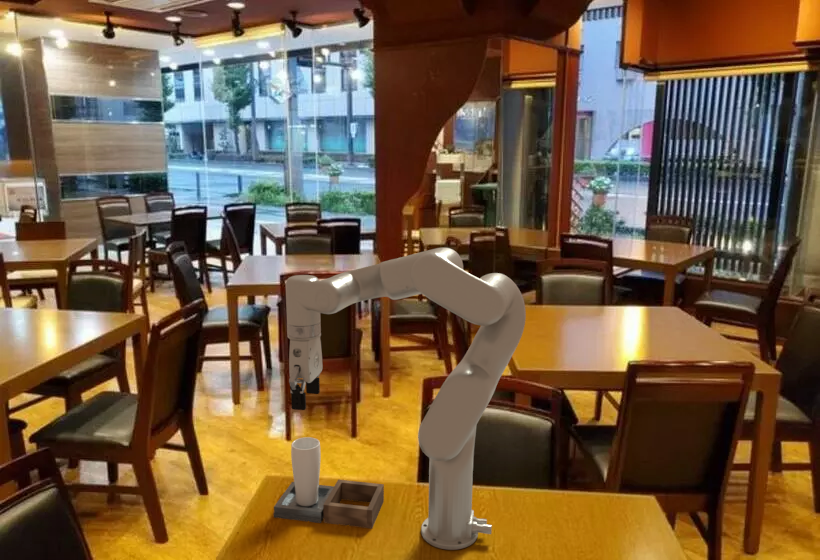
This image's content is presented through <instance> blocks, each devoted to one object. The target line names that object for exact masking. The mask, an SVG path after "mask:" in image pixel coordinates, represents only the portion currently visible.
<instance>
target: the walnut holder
mask: <svg viewBox="0 0 820 560" xmlns="http://www.w3.org/2000/svg"><path fill="white" fill-rule="evenodd" d="M384 490H385V486H384V484H382V483H376V482H375V483H373V482H365V481H355V480H348V479H347V480H345V479H338V480H337V481H336V482H335V484H334V488H333V489H332V491H331V493H330V494H329V496H328V498H327V499H326V501H325V503H324V505H323V511H324V518H323V524H332V525H339V524H340V525H341V526H347V525H349V526H350V527H355V528H356V527H358V528H366V529H373V528H374V525H375V523H376V520H377V518H378V516H379V513H380V511H381V509H382V507H383V505H384V502H385V501H384V500H385V497H384V495H385V494H384V493H385V491H384ZM342 499H343V500H345V501H351V502H352V500H353V502H362V503H369V505H368V506H364V505H356V504H355V505H353V504H349V503H348V504H345V503H341V502H342ZM349 526H348V527H349Z"/></svg>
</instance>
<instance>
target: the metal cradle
mask: <svg viewBox="0 0 820 560" xmlns="http://www.w3.org/2000/svg"><path fill="white" fill-rule="evenodd" d="M334 486H335V485H334ZM334 486H333V485H332V486H331V485H324V484H323V485H322V484H319V489H318V501H317V502H316V503H315V504H314V505H312V506H300V505H298V504H297V502H296V493H295V484H294V481H292V482H291V483H290V484H289V486H288V487H287V488H286V490H285V491H284V493H283V494H282V495H281V496H280V498H279V499H278V500H277V502H276V503H275V505H274V506H273V518H277V519H283V520H284V519H286V520H291V521H292V520H293V521H300V522H301V521H302V522H308V521H309V522H311V523H318V524H322V522H323V521H324V511H323V505H324V503H325V501H326V499H327V498H328V496H329V494H330V493H331V491H332V489H333V488H334Z"/></svg>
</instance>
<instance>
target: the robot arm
mask: <svg viewBox="0 0 820 560" xmlns="http://www.w3.org/2000/svg"><path fill="white" fill-rule="evenodd" d="M417 295H423V296H424V297H426V298H427V299H429V300H430V301H432V302H433V303H436V304H437V305H438V306H441V307H442V308H444V309H446V311H447V310H448V311H449V312H451V313H453V314H454V315H456V316H458V317H459V318H461V319H463V320H465V321H467V322H469V323H471V324H473V325H475V326H476V325H477V326H480V327H479V328H478V330H477V332H476V334H475V336H474V337H473V339H472V342H471V344H470V346H469V348H468V350H466V353H465V354H464V356H463V357H462V358H461V360H460V362H459V363H458V364H457V365H456V366H455V367H454V369H453V370H452V371H451V372H450V373H449V375H447V377H446V378H445V381H444V382H443V383H442V385H441V386H440V388H439V391H438V393H437V394H436V396H435V398H434V400H433V401H432V402H431V405H430V407H429V408H428V411H427V412H426V414H425V416H424V418H423V420H422V421H421V424H420V425H419V428H418V433H417V439H418V444H419V447H420V449H421V451H422V453H424V455H425V456H427V458H428V459H429V465H428V466H429V467H428V475H429V476H428V517H427V518H426V519H424V521H423V522H422V524H421V526H420V528H421V529H420V533H421V536H422V538H423V540H424V541H425V542H426V543H428V544H429V545H431V546H433V547H435V548H438V549H443V550H448V551H455V550H461V549H464V548H467V547H470V546H471V545H473V544H474V543H475V542H476V541H477V538H478V536H479V533H481V534H486V535H492V527H493V525H492V524H487V523H488V520H487V518H477V516H475V514H474V513H475V511H474V509H472V507H473V503H472V502H473V482H474V481H473V477H474V476H473V474H474V472H473V471H474V456H475V445H476V444H475V443H476V435H477V434H476V433H477V424H478V423H479V421H480V419H481V417H482V416H483V414H484V412H485V411H486V408H487V407H488V405H489V403H490V401H491V399H492V397H493V395H494V394H495V392H496V388H497V385H498V383H499V381H500V379H501V377H502V375H503V374H504V371H505V370H506V368H507V366H508V364H509V363H510V361H511V359H512V357H513V355H514V353H515V351H516V349H517V347H518V345H519V343H520V341H521V338H522V337H523V333H524V329H525V324H526V319H527V318H526V315H527V313H526V304H525V300H524V297H523V294H522V291H520V288H519V286H517V284H516V283H515V282H514V281H513V280H512V279H511V278H510V277H508V276H507V275H505V274H504V273H500V272H499V273H498V272H492V273H486V274H485V275H482V276H481V277H480V278H479V277H477V276H475V275H473V274H471V273H469V272H468V271H466V270H464V263H463V260H462V258H461V256H460V254H459V253H458V252H457V251H455V250H454V249H453V248H450V247H437V248H432V249H429V250H425V251H421V252H417V253H413V254H409V255H405V256H402V257H401V256H400V257H398V258H397V257H396V258H392V259H389V260H385V261H381V262H380V263H378V264H373V265H368V266H364V267H361V268H357V269H352V270H347V271H344V272H342V273H338V274H335V275H332V276H331V277H328V278H325V279H322V280H319V278H318V277H317V276H315V275H312V274H311V275H309V274H296V275H292V276H290V277H288V278H287V279H286V281H285V304H286V307H285V311H286V332H287V333H286V334H287V338H288V339H289V354H288V355H289V356H288V357H289V358H288V364H289V365H288V367H289V370H288V371H289V379H288V383H289V389H290V399H291V401H290V403H291V404H290V405H291V409H292V410H294V411H295V410H297V411H305V410H306V408H307V399H306V398H307V397H306V396H307V395H306V394H308V395H309V394H311V395H313V394H314V395H319V394H320V391H321V390H320V388H321V387H320V386H321V385H320V375H321V373H322V371H323V366H324V365H323V353H322V351H323V350H322V340H321V336H322V332H321V331H322V327H321V324H322V323H321V314H324V315H332V314H336V313H338V312H340V311H342V310H343V309H345V308H347V307H349V306H351V305H353V304H355V303H359V302H365V301H369V300H372V299H378V298H384V297H385V298H388V299H390V300H394V301H396V300H400V299H401V300H402V299H405V298H409V297H413V296H417ZM299 384H300V385H299ZM305 389H306V390H305Z"/></svg>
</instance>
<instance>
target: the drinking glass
mask: <svg viewBox="0 0 820 560" xmlns="http://www.w3.org/2000/svg"><path fill="white" fill-rule="evenodd" d="M290 448H291V449H290V452H291V453H290V454H291V455H290V457H291V458H290V459H291V467H292V475H293V482H294V484H295V493H296V502H297V504H298V505H300V506H312V505H314V504H315V503H316V502H317V501H318V489H319V485H320V473H321V443H320V440H319V439H318V438H314V437H310V436H307V437H306V436H304V437H299V438H297V439H295V440H293V441H292V443H291V447H290Z"/></svg>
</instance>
